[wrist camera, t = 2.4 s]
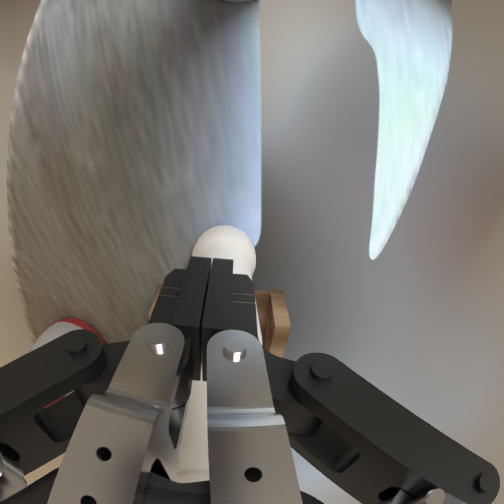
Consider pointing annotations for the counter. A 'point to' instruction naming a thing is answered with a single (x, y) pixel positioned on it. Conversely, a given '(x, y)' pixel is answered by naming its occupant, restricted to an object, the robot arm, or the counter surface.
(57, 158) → the counter surface
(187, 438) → the bottle
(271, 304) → the brown wooden open box
